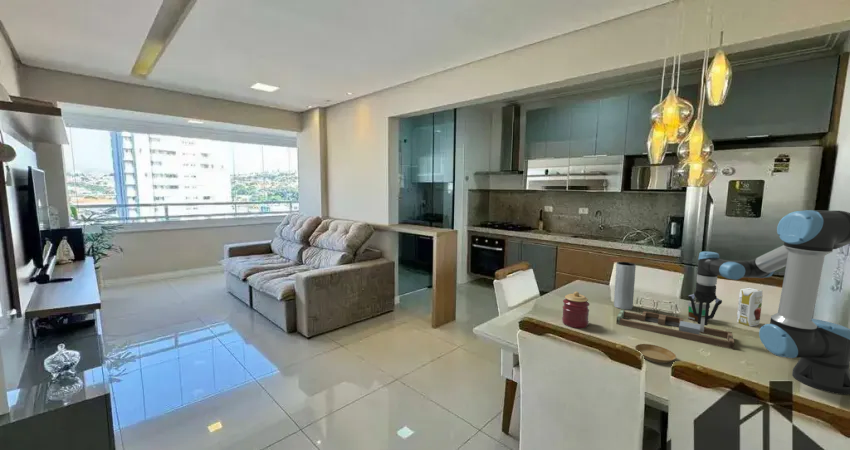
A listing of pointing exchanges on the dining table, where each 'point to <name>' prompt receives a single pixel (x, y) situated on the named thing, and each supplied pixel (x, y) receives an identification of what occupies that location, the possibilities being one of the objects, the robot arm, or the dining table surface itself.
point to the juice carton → (749, 306)
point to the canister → (575, 310)
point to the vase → (624, 285)
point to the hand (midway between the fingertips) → (701, 330)
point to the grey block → (689, 327)
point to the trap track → (676, 333)
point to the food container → (690, 311)
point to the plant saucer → (655, 353)
